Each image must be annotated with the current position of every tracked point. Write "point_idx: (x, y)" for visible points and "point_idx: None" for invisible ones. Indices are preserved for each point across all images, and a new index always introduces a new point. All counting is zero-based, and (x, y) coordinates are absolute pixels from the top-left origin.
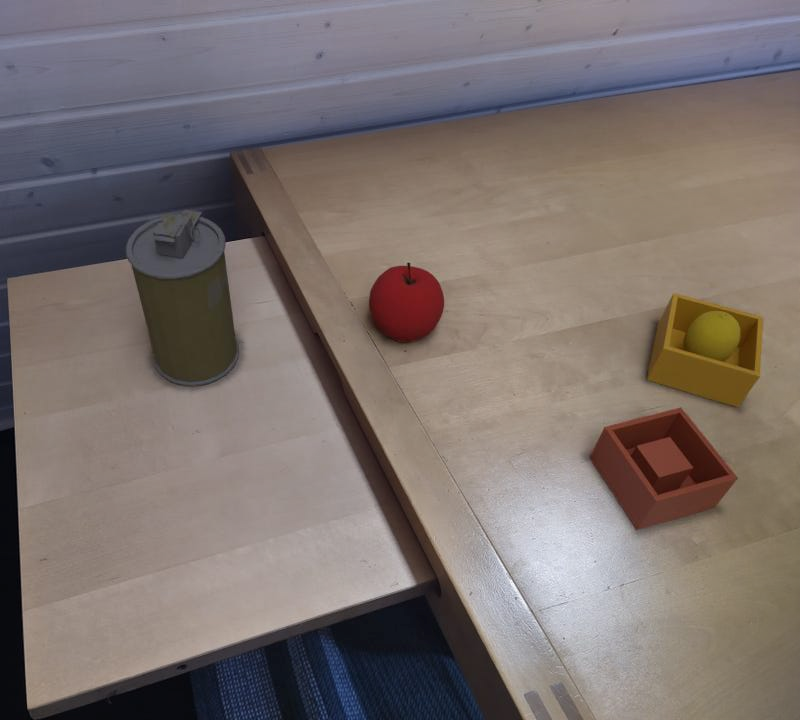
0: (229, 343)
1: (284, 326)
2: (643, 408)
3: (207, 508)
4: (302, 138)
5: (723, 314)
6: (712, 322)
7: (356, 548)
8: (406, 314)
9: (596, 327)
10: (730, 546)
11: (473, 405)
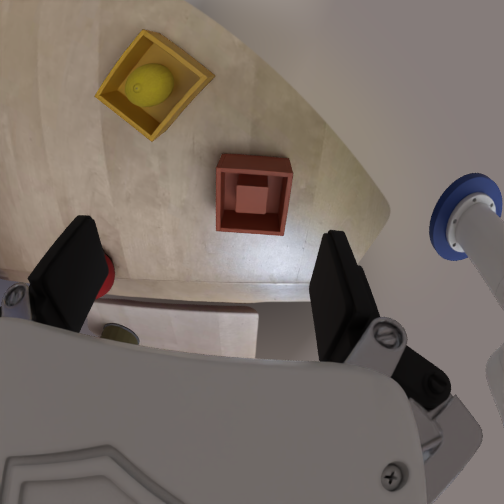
0: (123, 341)
1: (102, 305)
2: (191, 149)
3: (200, 351)
4: None
5: (135, 89)
6: (139, 99)
7: (235, 324)
8: (106, 291)
9: (107, 140)
10: (316, 169)
11: (163, 252)
